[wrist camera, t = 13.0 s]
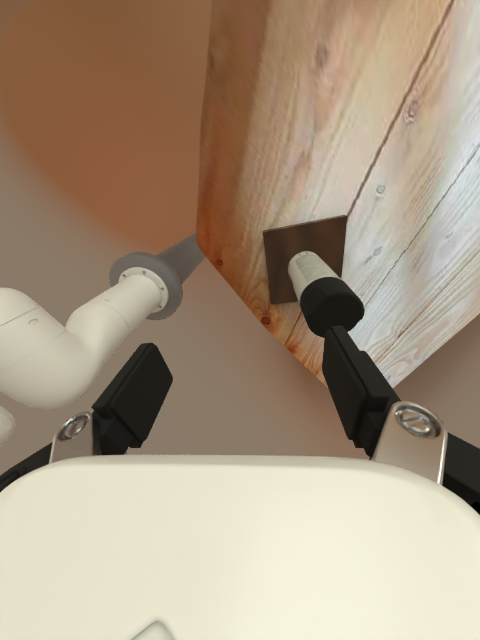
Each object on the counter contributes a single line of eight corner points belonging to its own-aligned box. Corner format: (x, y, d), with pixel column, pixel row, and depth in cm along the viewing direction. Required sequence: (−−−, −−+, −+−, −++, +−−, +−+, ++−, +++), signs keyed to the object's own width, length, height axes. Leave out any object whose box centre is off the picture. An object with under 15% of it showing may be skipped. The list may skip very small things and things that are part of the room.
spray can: (280, 271, 40) (294, 325, 24) (302, 242, 37) (336, 281, 20) (305, 287, 42) (334, 348, 25) (328, 261, 38) (380, 311, 22)
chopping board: (271, 301, 46) (271, 304, 45) (262, 230, 38) (263, 232, 36) (337, 293, 43) (339, 296, 42) (344, 214, 35) (347, 215, 34)
